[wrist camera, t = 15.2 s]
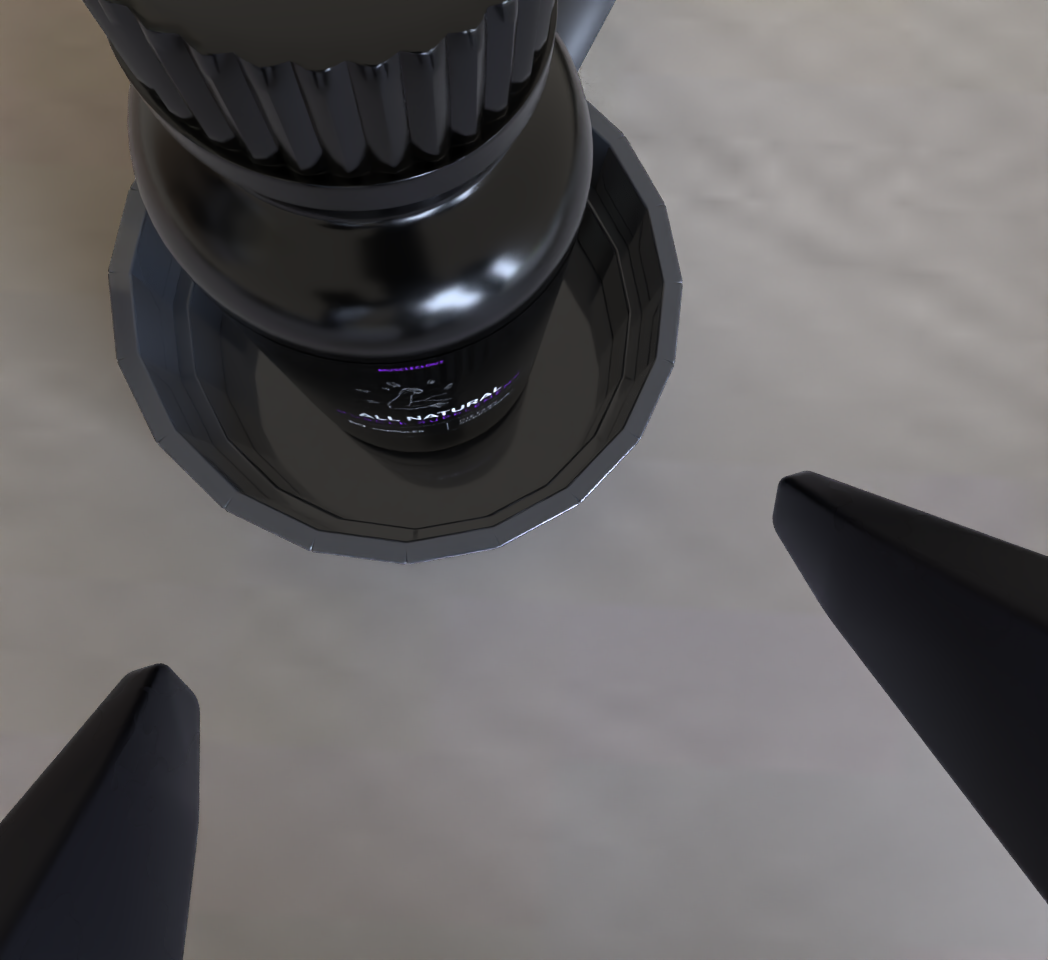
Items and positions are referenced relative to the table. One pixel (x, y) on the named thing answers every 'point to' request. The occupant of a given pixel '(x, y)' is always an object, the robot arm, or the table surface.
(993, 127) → the table surface
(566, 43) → the pan handle
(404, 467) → the pan
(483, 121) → the supplement bottle
